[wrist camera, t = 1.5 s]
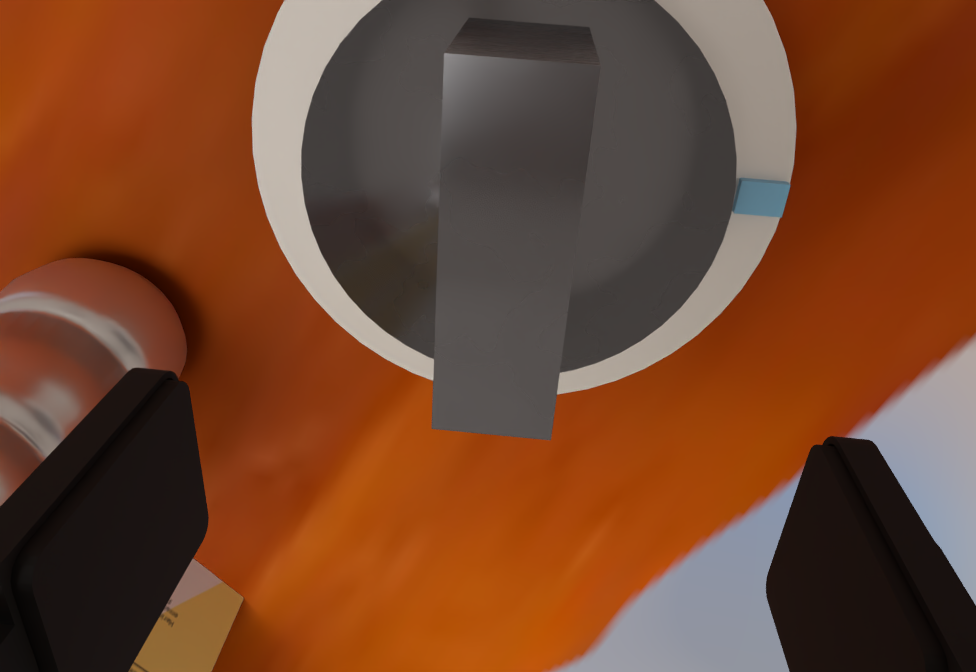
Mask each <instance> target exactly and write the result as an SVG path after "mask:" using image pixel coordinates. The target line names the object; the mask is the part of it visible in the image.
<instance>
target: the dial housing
mask: <svg viewBox="0 0 976 672" xmlns="http://www.w3.org/2000/svg"><path fill="white" fill-rule="evenodd" d="M381 1H382V0H285V1H284V3H283V4H282V6H281V8H280V10H279V11H278V13H277V16H276V18H275V21H274V23H273V26H272V28H271V31H270V34H269V36H268V39H267V41H266V44H265V46H264V50H263V54H262V58H261V62H260V66H259V70H258V74H257V79H256V83H255V93H254V102H253V112H252V138H253V156H254V162H255V169H256V175H257V181H258V187H259V190H260V194H261V197H262V200H263V204H264V207H265V211H266V214H267V218H268V220H269V222H270V225H271V227H272V229H273V232H274V234H275V236H276V239H277V241H278V243H279V245H280V248H281V249H282V251H283V253H284V255H285V256H286V258H287V260H288V261H289V263H290V265H291V267H292V268H293V270H294V272H295V273H296V275H297V277H298V278H299V279H300V281H301V282H302V283H303V284H304V286H305V287H306V288H307V290H308V291H309V292H310V294H311V295H312V296H313V298H314V299H315V300H316V301H317V302H318V304H319V305H320V306H321V307H322V308H323V309H324V310H325V311H326V312H327V313H328V314H329V315H330V316H331V317H332V318H333V319H334V320H335V321H336V322H337V323H338V324H339V325H340V326H341V327H343V328H344V329H345V330H346V331H347V332H348V333H350V334H351V335H352V336H353V337H354V338H356V339H357V340H358V341H359V342H361V343H362V344H364V345H365V346H367V347H368V348H370V349H371V350H373V351H374V352H376V353H377V354H379V355H380V356H382V357H383V358H385V359H386V360H388V361H390V362H392V363H394V364H396V365H398V366H400V367H402V368H404V369H406V370H408V371H410V372H412V373H414V374H417V375H420V376H422V377H425V378H427V379H430V380H433V375H434V359H432V358H429V357H427V356H425V355H423V354H421V353H419V352H417V351H416V350H414V349H412V348H410V347H408V346H406V345H404V344H403V343H401V342H400V341H398V340H397V339H395V338H394V337H392V336H391V335H390V334H388V333H387V332H385V331H384V330H383V329H382V328H380V327H379V326H378V325H377V324H376V323H375V322H373V321H372V320H371V319H370V318H369V317H367V316H366V315H365V314H364V313H363V311H362V310H361V309H360V308H359V307H358V306H357V305H356V304H355V303H354V302H353V301H352V300H351V299H350V297H349V296H348V295H347V294H346V292H345V291H344V289H343V288H342V287H341V285H340V284H339V283H338V281H337V280H336V278H335V277H334V276H333V274H332V272H331V270H330V268H329V267H328V265H327V263H326V261H325V259H324V258H323V256H322V254H321V252H320V249H319V247H318V244H317V242H316V239H315V237H314V235H313V232H312V230H311V226H310V222H309V218H308V215H307V211H306V207H305V203H304V195H303V187H302V179H301V149H302V141H303V134H304V127H305V121H306V118H307V114H308V110H309V107H310V103H311V100H312V96H313V94H314V91H315V89H316V87H317V85H318V82H319V80H320V78H321V75H322V73H323V71H324V69H325V67H326V65H327V64H328V62H329V61H330V59H331V57H332V56H333V54H334V53H335V51H336V49H337V48H338V46H339V45H340V43H341V42H342V41H343V39H344V38H345V37H346V36H347V35H348V33H349V32H350V31H351V30H352V29H353V28H354V26H355V25H356V24H357V23H358V22H359V20H360V19H362V18H363V17H364V16H365V15H366V14H367V13H368V12H369V11H371V10H372V9H373V8H374V7H375V6H376V5H377V4H378V3H380V2H381ZM655 1H656V2H657V3H658V4H659V5H661V6H662V7H663V8H664V9H665V10H666V11H667V12H668V13H669V14H670V15H671V16H672V17H674V18H675V19H676V20H677V21H678V22H679V24H680V25H681V26H682V27H683V28H684V30H685V31H686V32H687V33H688V34H689V36H690V37H691V38H692V39H693V41H694V42H695V43H696V44H697V45H698V47H699V48H700V50H701V52H702V53H703V55H704V57H705V58H706V60H707V62H708V63H709V65H710V67H711V68H712V70H713V72H714V73H715V76H716V78H717V80H718V83H719V85H720V88H721V90H722V92H723V95H724V97H725V99H726V102H727V106H728V110H729V114H730V118H731V122H732V126H733V129H734V138H735V147H736V156H737V167H736V189H735V195H734V201H733V207H732V213H731V217H730V220H729V223H728V226H727V230H726V233H725V236H724V239H723V242H722V244H721V246H720V248H719V250H718V253H717V255H716V257H715V259H714V261H713V263H712V265H711V267H710V268H709V270H708V272H707V273H706V275H705V276H704V278H703V280H702V281H701V283H700V284H699V286H698V287H697V289H696V290H695V291H694V292H693V294H692V295H691V296H690V297H689V298H688V300H687V301H686V302H685V303H684V304H683V306H682V307H681V308H680V309H679V310H678V311H677V312H676V313H675V314H674V315H673V316H672V317H670V318H669V319H668V320H667V321H666V322H665V323H664V324H663V325H662V326H661V327H659V328H658V329H657V330H655V331H654V332H653V333H651V334H650V335H649V336H647V337H646V338H645V339H643V340H642V341H640V342H638V343H637V344H635V345H633V346H631V347H630V348H628V349H626V350H624V351H623V352H621V353H619V354H617V355H614V356H612V357H610V358H607V359H605V360H603V361H601V362H598V363H596V364H592V365H589V366H586V367H582V368H579V369H576V370H572V371H567V372H561V373H560V375H559V382H558V390H557V394H563V393H568V392H574V391H579V390H585V389H589V388H593V387H596V386H599V385H603V384H606V383H610V382H613V381H616V380H619V379H621V378H624V377H626V376H628V375H631V374H633V373H635V372H638V371H640V370H643V369H645V368H647V367H648V366H650V365H652V364H654V363H656V362H657V361H659V360H661V359H663V358H665V357H666V356H668V355H670V354H672V353H673V352H674V351H676V350H677V349H679V348H680V347H681V346H683V345H684V344H686V343H687V342H688V341H690V340H691V339H692V338H694V337H695V336H697V335H698V334H699V333H700V332H701V331H702V330H703V329H704V328H705V327H707V326H708V325H709V324H710V323H711V322H712V321H713V320H714V319H715V318H716V317H718V316H719V315H720V314H721V313H722V311H723V310H724V309H725V308H726V307H727V306H728V305H729V303H730V302H731V301H732V300H733V299H734V298H735V296H736V295H737V294H738V293H739V292H740V291H741V289H742V288H743V287H744V285H745V284H746V282H747V281H748V279H749V278H750V276H751V275H752V273H753V272H754V270H755V269H756V267H757V266H758V264H759V263H760V261H761V259H762V257H763V255H764V253H765V251H766V249H767V247H768V245H769V243H770V241H771V239H772V237H773V235H774V233H775V231H776V228H777V225H778V222H779V219H780V217H781V218H782V215H783V211H784V207H785V204H786V200H787V197H788V193H789V189H790V186H791V185H790V181H791V176H792V171H793V166H794V156H795V142H796V114H795V99H794V89H793V84H792V79H791V75H790V70H789V65H788V61H787V56H786V52H785V49H784V47H783V44H782V41H781V39H780V36H779V33H778V31H777V28H776V25H775V22H774V20H773V17H772V15H771V13H770V12H769V10H768V8H767V6H766V4H765V2H764V1H763V0H655Z"/></svg>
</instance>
